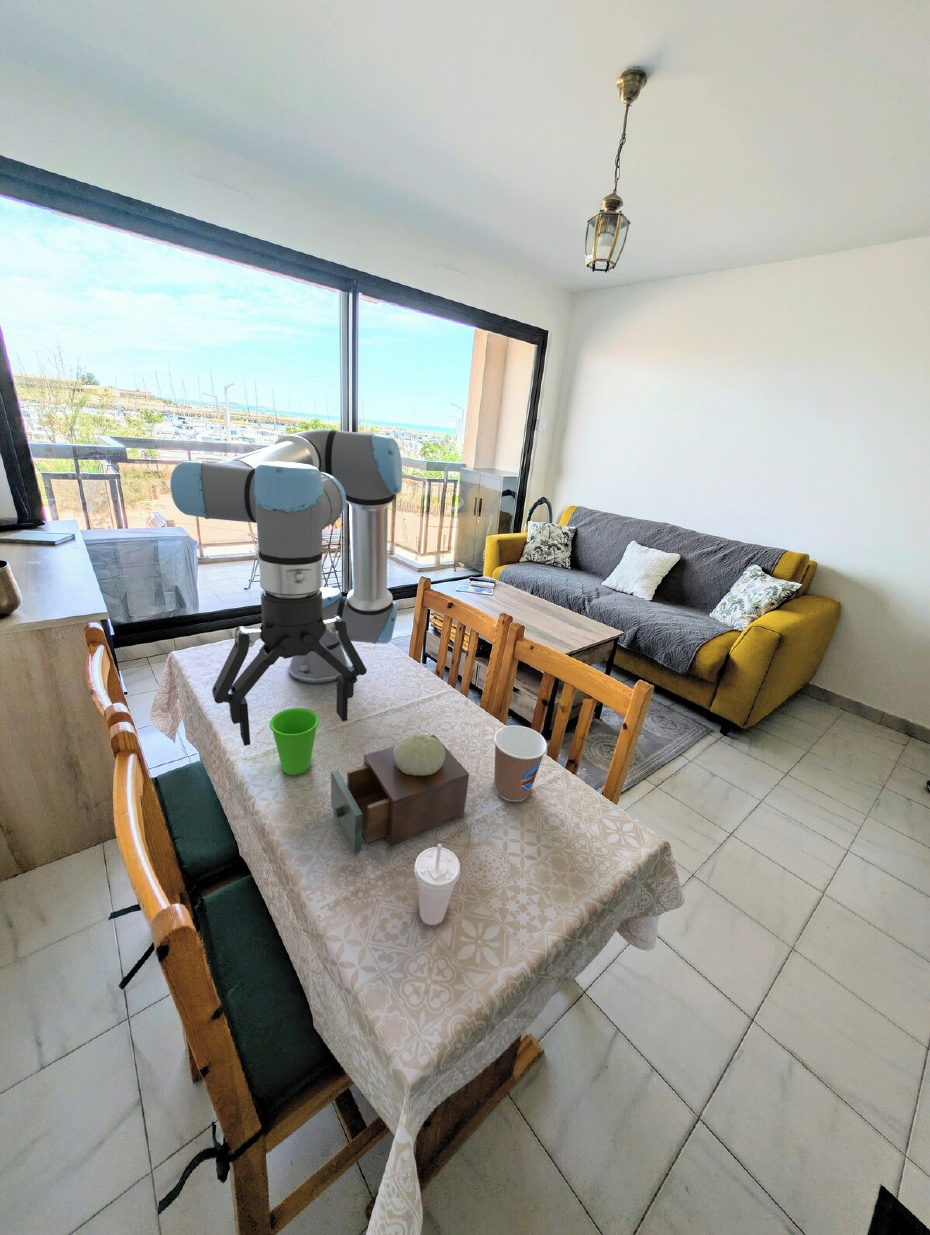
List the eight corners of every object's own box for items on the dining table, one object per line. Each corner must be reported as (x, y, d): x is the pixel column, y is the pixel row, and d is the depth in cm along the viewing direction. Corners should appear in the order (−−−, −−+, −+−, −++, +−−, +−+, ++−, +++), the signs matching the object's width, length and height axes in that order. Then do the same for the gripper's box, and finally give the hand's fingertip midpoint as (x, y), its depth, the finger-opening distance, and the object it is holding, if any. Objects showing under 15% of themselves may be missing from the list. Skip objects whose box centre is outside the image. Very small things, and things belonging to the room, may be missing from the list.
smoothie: (405, 928, 67) (411, 856, 61) (416, 888, 73) (423, 819, 67) (449, 939, 66) (459, 866, 61) (457, 897, 72) (467, 828, 67)
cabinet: (390, 846, 79) (393, 801, 76) (362, 796, 89) (363, 754, 85) (463, 815, 87) (469, 773, 84) (430, 773, 97) (434, 734, 93)
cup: (278, 788, 89) (276, 740, 85) (267, 759, 96) (264, 714, 92) (325, 773, 94) (325, 727, 90) (311, 747, 100) (311, 703, 96)
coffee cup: (524, 816, 89) (534, 765, 84) (477, 792, 93) (484, 742, 89) (544, 786, 97) (555, 738, 93) (500, 765, 102) (508, 718, 97)
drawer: (347, 856, 75) (347, 819, 73) (324, 808, 84) (324, 773, 81) (427, 823, 83) (431, 788, 81) (399, 782, 92) (401, 749, 89)
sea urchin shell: (443, 777, 79) (413, 743, 78) (409, 796, 82) (380, 763, 81) (454, 745, 88) (428, 713, 86) (424, 763, 90) (397, 732, 89)
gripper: (182, 610, 51) (202, 768, 59) (393, 589, 64) (386, 720, 72) (176, 588, 56) (195, 735, 64) (371, 573, 70) (367, 696, 78)
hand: (296, 727), depth 68 cm, fingers open, 13 cm apart
